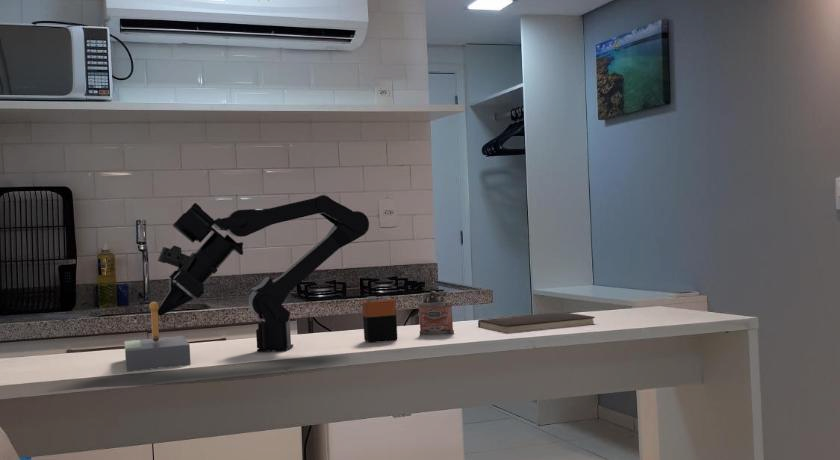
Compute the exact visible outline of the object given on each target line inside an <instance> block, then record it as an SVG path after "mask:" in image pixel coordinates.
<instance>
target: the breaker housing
mask: <svg viewBox="0 0 840 460" xmlns="http://www.w3.org/2000/svg"><path fill="white" fill-rule="evenodd" d="M190 348H191V347H190V343H189V342H188V341H187V339H186V338H185V337H184V335H177V336H167V337H159V340H158V341H157V342H155V341H153V339H152V338H146V339H145V338H144V339H134V340H133V339H132V340H124V354H125V356H124V357H125V369H126V372H134V371H135V370H136V371H143V369H145V370H152V369H151V368H154V369H160V368H159V367H164V368H170V367H169V366H173V367H179V365H182V366H189V365H188V364H191V350H190Z"/></svg>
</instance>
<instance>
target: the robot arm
mask: <svg viewBox="0 0 840 460" xmlns="http://www.w3.org/2000/svg"><path fill="white" fill-rule="evenodd" d="M313 215H321V216H322V217H323V218H324V219H325V220H327V221H328V222H329V223H330V224H332V227H331V228H330V230H329V231H328V233H327V234H326V236H325V237H324V238H322V239H321V240H320V241H319V242H317V244H316V245H314V246H313V247H312V248H311V249H310V250H309V251H307V252H306V253H305V254H304V255H303V256H302V257H301V258H299V259H298V260H297V261H296V262H295V263H294V264H292V265H291V266H290V267H288V269H286V270H285V271H284V272H283V273H282V274H281V275H279V276H278V277H276V278H275V279H272V277H269V276H265V277H264V279H262V280H261V282H260V283H259V284H258V285H256V286H254V287H252V288H251V290H252V292H251V293H250V294H249V297H248V307H249V308H250V310H251V311H252V312H253V313H254V314H256V315H257V316H258V318H259V320H260V321H258V322H257V327H258V328H257V329H256V331H255V333H256V334H255V335H256V352H258V353H259V352H260V353H261V352H285V351H288V350H290V349H291V348H293V347H294V344H293V343H292V340H291V338H292V336H291V320H290V316H291V312H290V310H288V309H287V308H285V307H284V306H283V304H284V302H285V301H286V300H287V298H288V297H289V295H290V294H291V292H292V291H293V289H294V288H296V287H297V286H298V285H300V283H302V282H303V280H305V279H306V278H307V277H308V276H309V275H311V274H312V273H313V272H314V271H315V270H317V269H318V268H319V267H320V266H321V265H322V264H324V262H326V261H327V260H328V259H329V258H331V256H333V255H334V254H335V253H336V252H337V251H338V250H339V249H341V248H343V247H344V246H347V245H348V244H350V243H353V242H354V241H356V240H358V239H359V238H361V237H363V236H364V235H365V234H367V233H368V231H369V229H370V221H369V218H368V216H367V215H366V214H365V213H364V212H362V211H357V210H355V211H353V210H352V209H350V208H348V207H347V206H345V205H342V204H341V203H339V202H337V201H335V200H334V199H332V198H331V197H329V196H328V195H325V194H322V195H318V196H315V197H313V198H310V199H304V200H300V201H296V202H292V203H288V204H283V205H278V206H274V207H269V208H252V209H250V208H249V209H238V210H234V212H233V211H232V212H230V213H229V214H228V215H227V217H223V218H220V217H217V218H215V219H214V218H213V217H211V216H210V214H208V213H207V212H206V211H204V209H202V207H201V206H200V205H199V203H197V202H194V203H193V204H192V205H191V206H190V207H189V208H188V209H187V210H186V211H185V212H183V213H182V214H181V215H180V216H179V217H178V218H177V219H176V221H174V223H173V224H172V225H171V226H172V227H173V228H174V229H175V230H177V231H178V232H179V233H180V234H181V235H182V236H183V237H185V238H186V239H187V240H189V242H190V243H192V244H193V243H194V242H198V243H200V244H201V242H203V240H204V239H205V238H207V236H208V235H209V234H210V233H212V234H211V235H209V237H208V238H207V240H206V241H205V242H203V244H202V245H200V247H199V248H198V249H197V250H196V251H194V252H191V254H190V255H187V254H185V253H182V247H179V246H178V245H172V247H170V248H168V247H165V246H163V247H162V249H161V251H160V253H159V256H158V259H157V262H160V263H163V264H168V265H171V266H174V267H176V268H177V269H174V270H173V271H172V272H171V273H170V275H169V276H168V278H169V279H168V286H169V287H168V288H169V290H168V292H167V294H166V295H165V297H164V299H163V300H162V302H161V303H160V305H159V309H158V317H162V316H163V315H166V314H168V313H169V312H171V311H173V310H175V309H177V308H179V307H181V306H183V305H184V304H187V303H188V302H191V301H193V300H194V298H193V297H195V298H196V299H197V300H198V299H200V297H201V296H202V295H203V294H204V293H205V287H204V286H205V283H206V282H208V280H209V279H210V278H211V277H212V276H213V275H215V274H216V273H217V272H218V269H220V268H221V266H222V264H223V263H224V262H225V261H226V260H227V259H228V258H229V257H230V255H232V253H234V252H235V253H236V254H237V255H238V256H243V255H244V248H243V245H244V242H242V241H241V242H237V241H236V240H234V239H233V237H235V238H241V237H243V238H244V237H247V236H249V235H252V234H255V233H257V232H258V231H261V230H264V229H265V228H267V227H269V226H272V225H275V224H279V223H283V222H288V221H292V220H296V219H300V218H304V217H309V216H313ZM217 230H218V231H225V232H227V234H225V235H224V236H223V235H222V234H221V233H220V232H218V231H217ZM229 234H230V235H229ZM231 236H232V237H231ZM192 296H193V297H192Z"/></svg>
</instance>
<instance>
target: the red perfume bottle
mask: <svg viewBox="0 0 840 460" xmlns="http://www.w3.org/2000/svg"><path fill="white" fill-rule="evenodd" d="M449 295H450V293H449V291H435V290H432V291H429V292H423V293H422V298H423V301H421V302H418V303H417V306H418V312H419V313H418V314H419V315H418V316H419V329H420V330H419V336H448V335H450V336H451V335H454V334H455V331H454V330H455V329H454V325H453V324H454V322H453V307H452V305H453V301H451V300H444V299H445V298H449Z"/></svg>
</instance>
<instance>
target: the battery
mask: <svg viewBox="0 0 840 460" xmlns="http://www.w3.org/2000/svg"><path fill="white" fill-rule="evenodd" d="M361 304H362V320H363V336H364V337H363V338H364V341H365V342H367V343H370V344H371V343H381V342H391V341H392V342H393V341H397V340H398V325H397V324H398V321H397V306H396V305H397V303H396V300H395V299H393V298H391V297H390V295H386V296H385V295H383V296H382V298H381V299H379V298H378V299H377V296H366V300H363V301H362V303H361Z"/></svg>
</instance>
